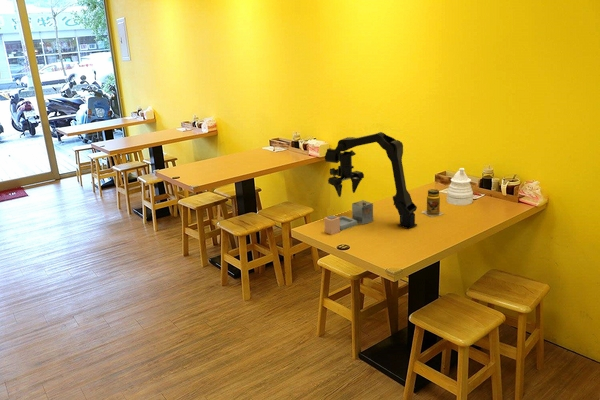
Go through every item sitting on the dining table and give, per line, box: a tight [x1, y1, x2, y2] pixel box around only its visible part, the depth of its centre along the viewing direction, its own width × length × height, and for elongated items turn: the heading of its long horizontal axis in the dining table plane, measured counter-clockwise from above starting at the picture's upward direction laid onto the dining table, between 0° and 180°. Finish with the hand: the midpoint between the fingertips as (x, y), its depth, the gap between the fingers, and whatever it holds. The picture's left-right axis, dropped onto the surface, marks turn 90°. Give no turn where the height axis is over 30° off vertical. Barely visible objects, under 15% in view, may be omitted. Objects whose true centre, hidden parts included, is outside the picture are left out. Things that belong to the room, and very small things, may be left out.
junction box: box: [351, 199, 374, 226], centre depth 244 cm, size 8×7×10 cm
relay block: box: [323, 214, 341, 236], centre depth 233 cm, size 5×5×7 cm
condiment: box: [421, 188, 444, 217], centre depth 248 cm, size 7×8×12 cm
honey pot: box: [446, 167, 474, 206], centre depth 262 cm, size 13×13×18 cm
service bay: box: [338, 215, 358, 231], centre depth 242 cm, size 10×10×2 cm
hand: (346, 194), depth 251 cm, fingers open, 9 cm apart
